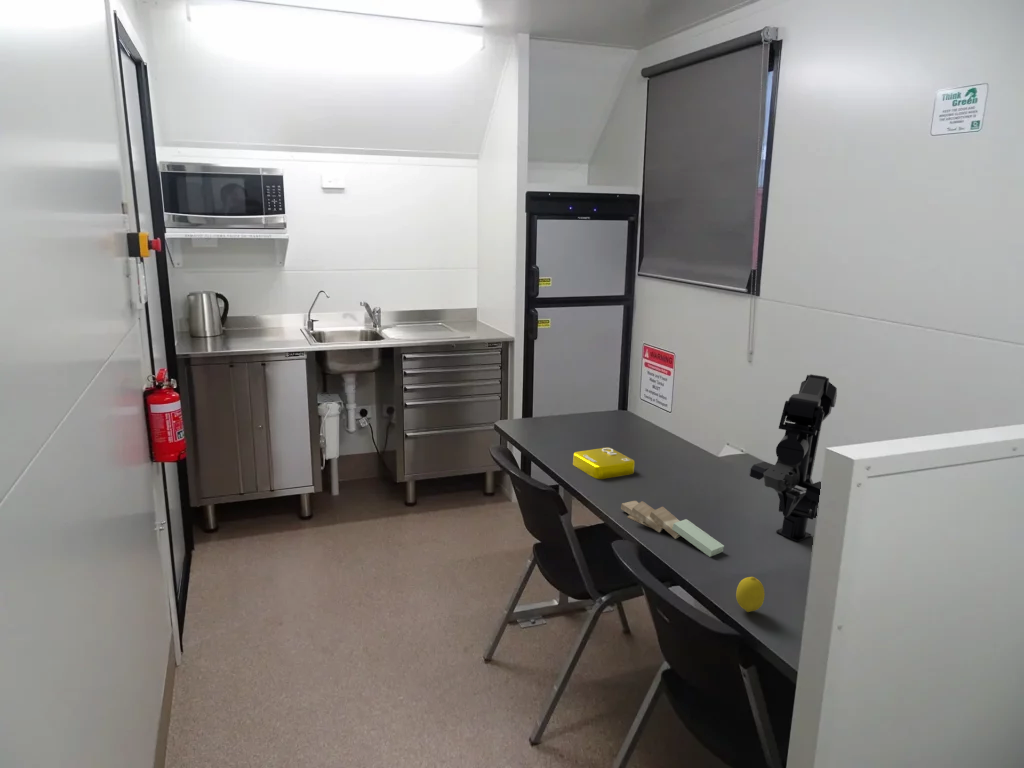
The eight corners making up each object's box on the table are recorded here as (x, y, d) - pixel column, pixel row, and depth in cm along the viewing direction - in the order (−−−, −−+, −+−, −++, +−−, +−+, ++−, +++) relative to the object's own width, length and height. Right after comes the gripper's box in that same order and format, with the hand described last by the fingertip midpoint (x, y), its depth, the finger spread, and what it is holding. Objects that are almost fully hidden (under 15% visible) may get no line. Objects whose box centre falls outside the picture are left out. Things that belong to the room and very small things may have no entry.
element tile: (570, 464, 227) (571, 450, 226) (608, 458, 234) (609, 445, 233) (597, 481, 214) (598, 466, 213) (636, 474, 222) (637, 460, 220)
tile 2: (659, 532, 181) (630, 512, 185) (668, 525, 185) (640, 505, 189) (661, 528, 180) (633, 507, 184) (670, 520, 184) (642, 500, 188)
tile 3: (642, 523, 185) (620, 508, 193) (656, 519, 188) (634, 505, 195) (643, 517, 185) (621, 503, 192) (657, 514, 187) (635, 500, 195)
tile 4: (654, 533, 183) (627, 521, 189) (665, 528, 186) (638, 517, 193) (655, 528, 183) (627, 516, 189) (666, 523, 186) (638, 511, 192)
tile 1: (675, 539, 178) (649, 516, 183) (686, 533, 181) (660, 510, 186) (677, 534, 177) (651, 511, 182) (688, 528, 180) (662, 506, 186)
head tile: (709, 556, 170) (672, 529, 178) (722, 551, 172) (684, 524, 181) (711, 550, 169) (673, 523, 178) (724, 545, 172) (686, 519, 181)
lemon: (755, 604, 150) (760, 570, 148) (765, 619, 144) (771, 584, 142) (730, 604, 150) (735, 569, 148) (739, 618, 144) (744, 583, 142)
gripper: (739, 445, 162) (730, 508, 166) (814, 472, 148) (803, 540, 152) (768, 438, 169) (759, 499, 172) (842, 462, 154) (831, 528, 158)
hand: (786, 515), depth 163 cm, fingers closed
